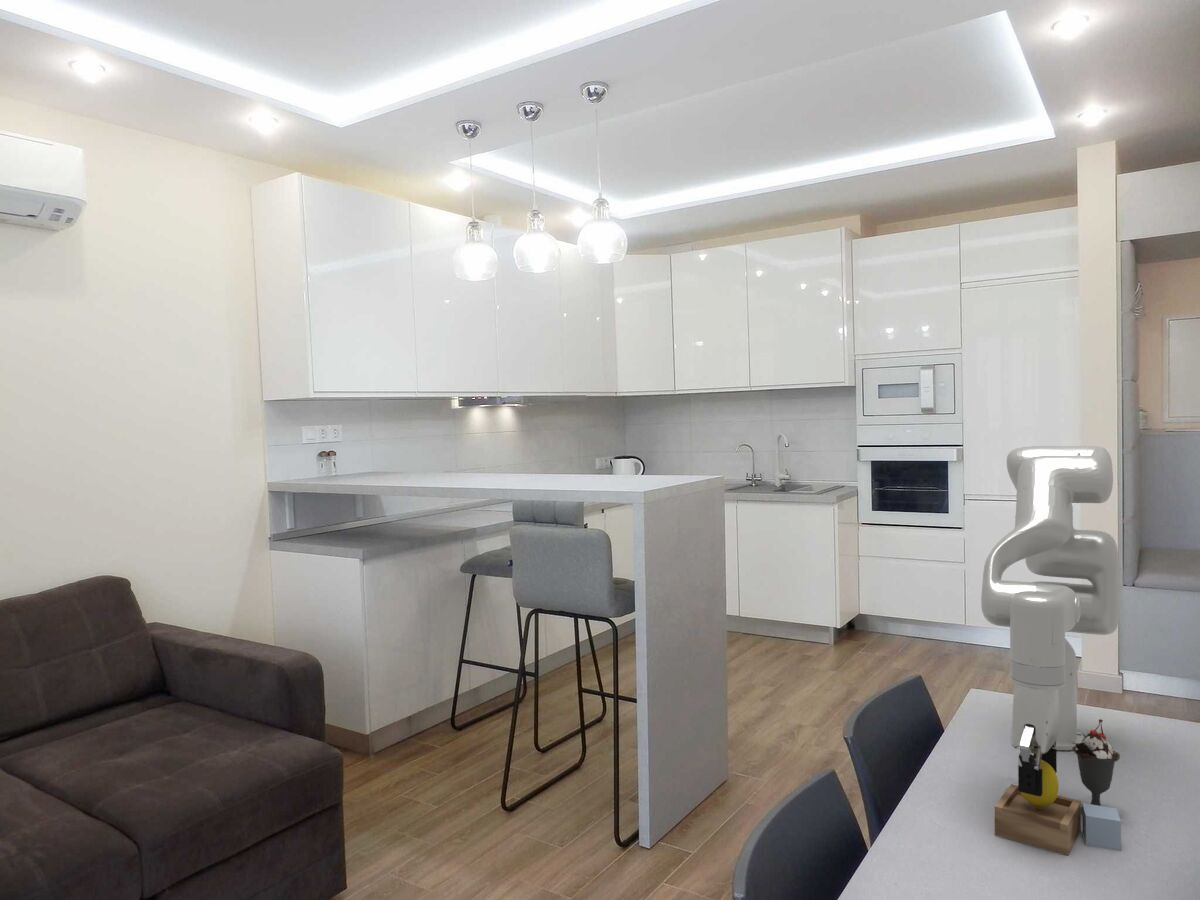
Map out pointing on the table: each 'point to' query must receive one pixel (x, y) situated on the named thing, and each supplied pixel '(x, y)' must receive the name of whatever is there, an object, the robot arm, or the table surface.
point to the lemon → (1045, 787)
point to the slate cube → (1101, 826)
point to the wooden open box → (1038, 821)
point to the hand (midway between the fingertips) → (1037, 782)
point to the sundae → (1096, 763)
